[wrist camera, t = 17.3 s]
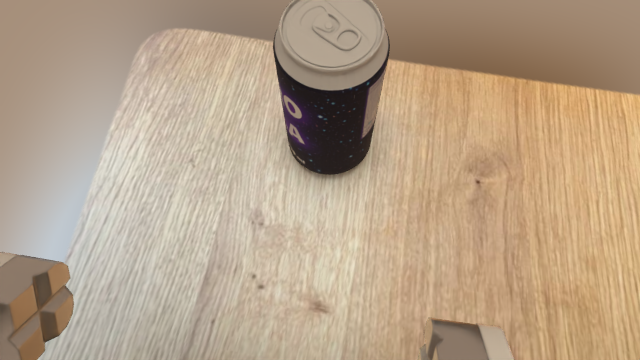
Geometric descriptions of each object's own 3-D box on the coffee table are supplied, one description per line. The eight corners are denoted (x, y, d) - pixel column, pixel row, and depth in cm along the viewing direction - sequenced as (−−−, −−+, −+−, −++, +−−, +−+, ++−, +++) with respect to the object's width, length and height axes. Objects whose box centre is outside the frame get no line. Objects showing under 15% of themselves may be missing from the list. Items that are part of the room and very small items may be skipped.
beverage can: (324, 93, 34) (324, -40, 22) (385, 138, 32) (417, 19, 21) (272, 146, 32) (244, 32, 21) (334, 195, 31) (340, 100, 20)
